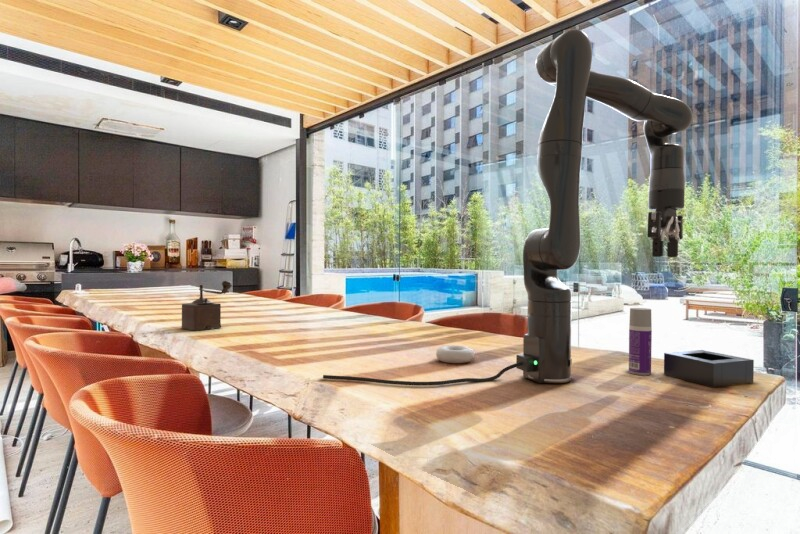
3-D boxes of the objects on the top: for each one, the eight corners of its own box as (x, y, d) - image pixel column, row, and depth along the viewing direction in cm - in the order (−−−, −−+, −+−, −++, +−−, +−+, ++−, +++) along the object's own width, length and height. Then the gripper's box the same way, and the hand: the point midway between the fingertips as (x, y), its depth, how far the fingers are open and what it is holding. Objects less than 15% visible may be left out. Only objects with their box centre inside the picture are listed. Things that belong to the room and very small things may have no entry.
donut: (464, 367, 117) (480, 359, 126) (464, 353, 117) (480, 346, 126) (429, 362, 123) (446, 355, 131) (428, 348, 123) (446, 342, 131)
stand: (713, 387, 99) (713, 363, 99) (663, 374, 110) (663, 352, 110) (753, 382, 103) (753, 359, 103) (701, 370, 114) (701, 349, 114)
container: (653, 375, 109) (654, 310, 109) (631, 374, 110) (632, 309, 110) (647, 371, 113) (648, 308, 113) (626, 370, 114) (627, 307, 114)
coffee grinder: (196, 331, 173) (196, 281, 173) (180, 328, 179) (180, 280, 179) (234, 326, 185) (234, 280, 185) (218, 324, 192) (218, 279, 192)
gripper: (662, 194, 122) (661, 257, 122) (637, 188, 113) (635, 256, 113) (694, 190, 116) (693, 257, 117) (671, 184, 107) (669, 256, 107)
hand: (665, 256), depth 115 cm, fingers open, 8 cm apart
